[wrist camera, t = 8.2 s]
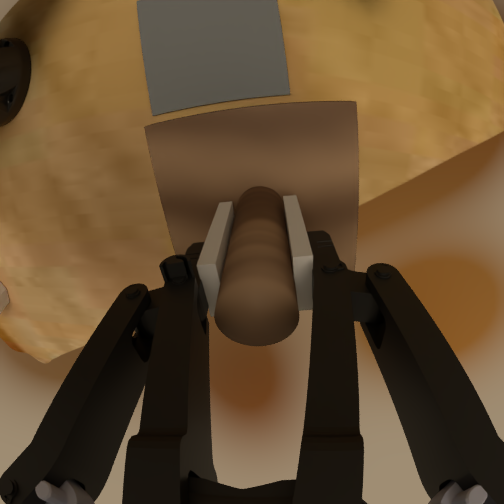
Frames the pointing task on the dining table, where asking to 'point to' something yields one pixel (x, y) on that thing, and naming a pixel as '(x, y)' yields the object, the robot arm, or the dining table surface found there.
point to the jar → (3, 297)
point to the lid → (260, 199)
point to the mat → (211, 51)
